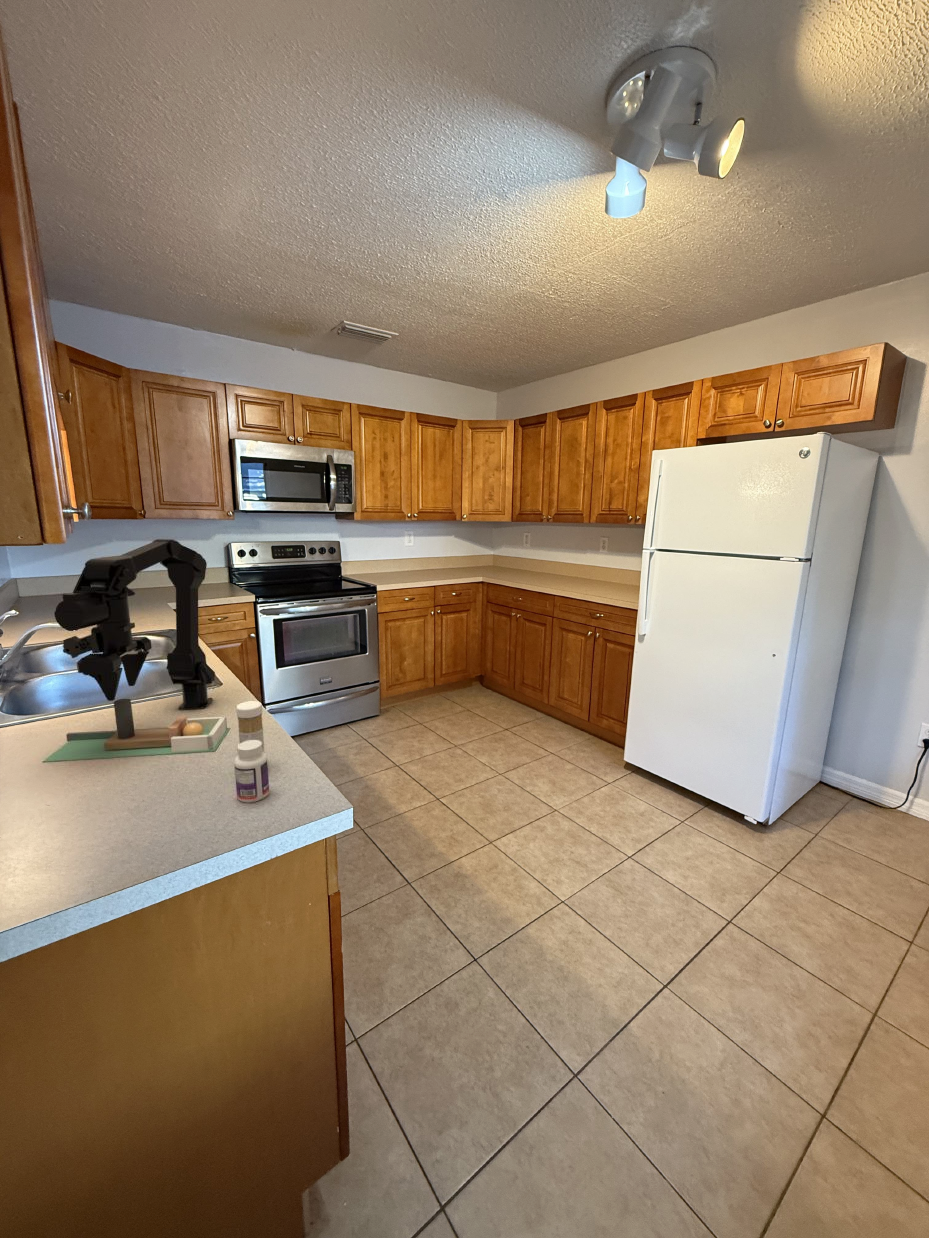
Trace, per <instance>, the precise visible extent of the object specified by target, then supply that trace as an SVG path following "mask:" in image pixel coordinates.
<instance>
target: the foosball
mask: <svg viewBox="0 0 929 1238" xmlns="http://www.w3.org/2000/svg"><path fill="white" fill-rule="evenodd" d="M196 735H203V727H202V726H201V725H200V724H199V723H195V722H193V723H189V724H188V723H187V725H186V726H185V727H184V729H183V736H196Z"/></svg>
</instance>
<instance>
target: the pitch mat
mask: <svg viewBox="0 0 929 1238" xmlns="http://www.w3.org/2000/svg"><path fill="white" fill-rule="evenodd" d="M230 729H231V727H227V729H226V731H225V732H224V734H223V736H222V737H221V739H220V740H219V742H218V743H217V745H216V746H215V748H214V749H213V750H200V751H184V752H172V747H171V746H162V747H146V748H130V749H113V750H105V748H104V743H105V742H106V741H107V740H108V739H92V740H74V741H67V742H66V743H65V744H64V745H62V746H60V748H58V749H57V750H55V751H54V752H53V753H52V754H50V755H49V756H48V757H46V758H45V759H44V760H42V761H41V763H55V762H70V761H83V760H84V761H85V760H86V761H87V760H102V759H103V760H104V759H116V758H131V757H132V758H133V757H147V756H149V757H150V756H167V755H180V754H196V753H211V752H216V751H217V749H218V748H219V746H220V744H221V743H222V741H223V740H224V738H225V737H226V735H227V734H228V732H229V730H230ZM210 732H211V731H205V732H203V735H209V733H210Z"/></svg>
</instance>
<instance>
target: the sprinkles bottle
mask: <svg viewBox="0 0 929 1238" xmlns="http://www.w3.org/2000/svg"><path fill="white" fill-rule="evenodd" d="M236 717H237V721H238V738H239V739H238V740H239V744H240V743H242V742H245V741H249V740H259V741H261V742H262V752H264V753H265V740H264V739H265V738H264V727H263V705H262V703H261V702H260V701H258V700H256V701H255V700H251V701H249V700H248V701H244V702H241V703H238V704H237V706H236Z"/></svg>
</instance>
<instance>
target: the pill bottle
mask: <svg viewBox="0 0 929 1238" xmlns="http://www.w3.org/2000/svg"><path fill="white" fill-rule="evenodd" d="M236 748H237V756H236V757H235V758H234V762H233V766H234V778H235V788H236V798H237V799H238V801H240V802H242V803H255V802H258V801H261V800H263V799H264V798H266V797H267V796H268V795H269V793H270V780H269V779H270V778H269V766H268V756H267V754H266V753H265V751H264V752H262V742H261V741H259V740H249V741H245V742H242V743H240V742H239V743H238V745H237V747H236Z"/></svg>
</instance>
